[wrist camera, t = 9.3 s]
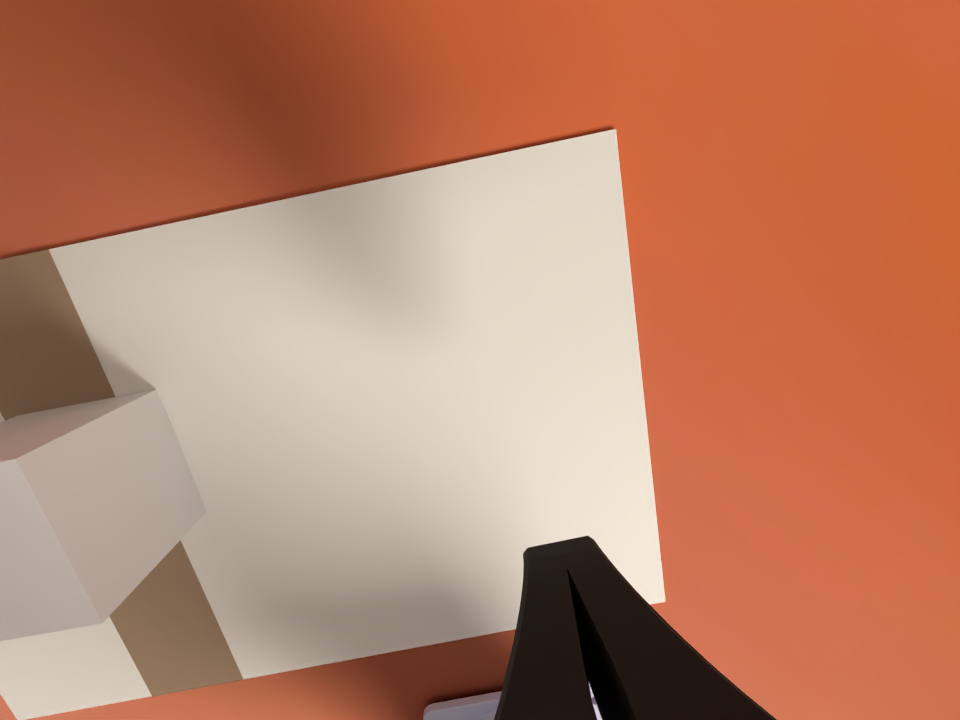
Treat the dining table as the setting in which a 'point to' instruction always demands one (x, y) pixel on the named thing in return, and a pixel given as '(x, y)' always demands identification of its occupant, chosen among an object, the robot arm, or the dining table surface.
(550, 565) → the robot arm
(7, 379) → the subfloor board
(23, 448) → the cream white cube
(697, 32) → the dining table surface
